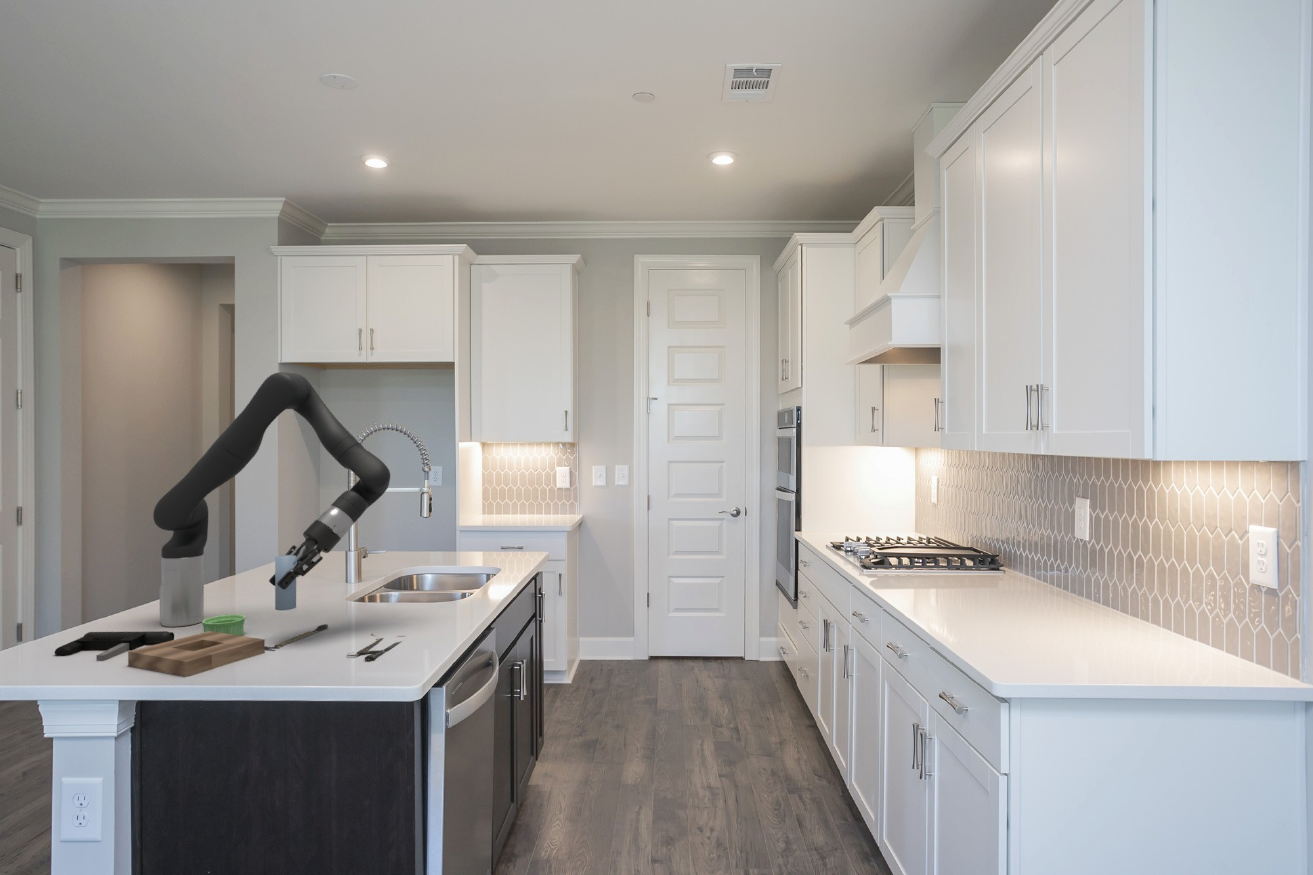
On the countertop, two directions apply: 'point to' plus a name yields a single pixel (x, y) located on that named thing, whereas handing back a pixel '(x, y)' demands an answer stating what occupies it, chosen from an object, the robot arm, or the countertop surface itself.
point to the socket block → (196, 653)
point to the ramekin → (225, 624)
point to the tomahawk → (296, 638)
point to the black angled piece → (113, 642)
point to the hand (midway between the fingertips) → (276, 585)
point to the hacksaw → (376, 653)
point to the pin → (287, 596)
